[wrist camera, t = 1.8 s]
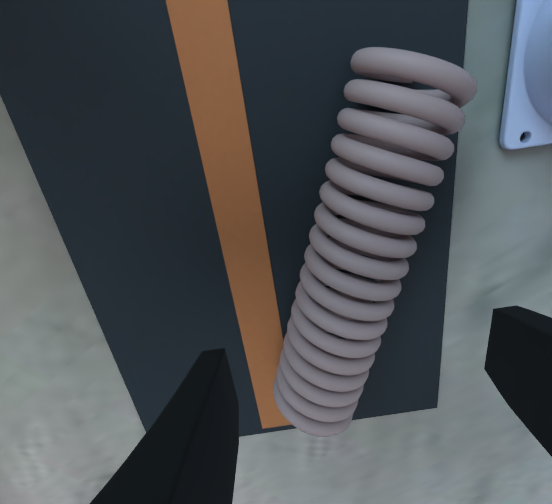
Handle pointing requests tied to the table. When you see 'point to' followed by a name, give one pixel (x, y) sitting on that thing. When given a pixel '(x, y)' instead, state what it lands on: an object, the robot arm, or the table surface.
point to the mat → (217, 177)
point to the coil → (365, 231)
